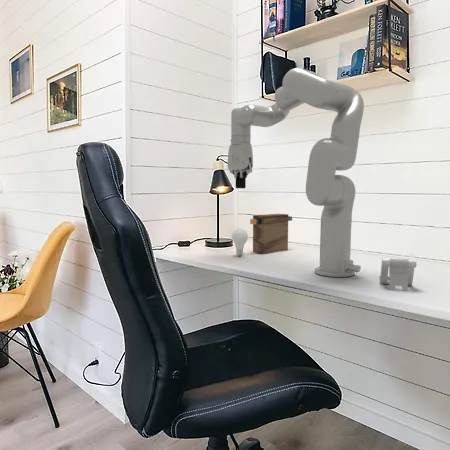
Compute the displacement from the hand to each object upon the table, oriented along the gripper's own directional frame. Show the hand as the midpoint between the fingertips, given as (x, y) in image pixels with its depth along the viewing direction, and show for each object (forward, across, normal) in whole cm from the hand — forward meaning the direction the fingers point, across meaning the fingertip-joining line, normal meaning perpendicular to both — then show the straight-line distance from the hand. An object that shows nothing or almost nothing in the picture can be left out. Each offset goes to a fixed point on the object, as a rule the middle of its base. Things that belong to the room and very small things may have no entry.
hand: (240, 188), depth 169 cm
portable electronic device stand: (+27, +66, -4) cm, 72 cm away
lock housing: (+27, 0, +19) cm, 33 cm away
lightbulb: (+27, 0, 0) cm, 27 cm away
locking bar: (+15, 0, +19) cm, 24 cm away
